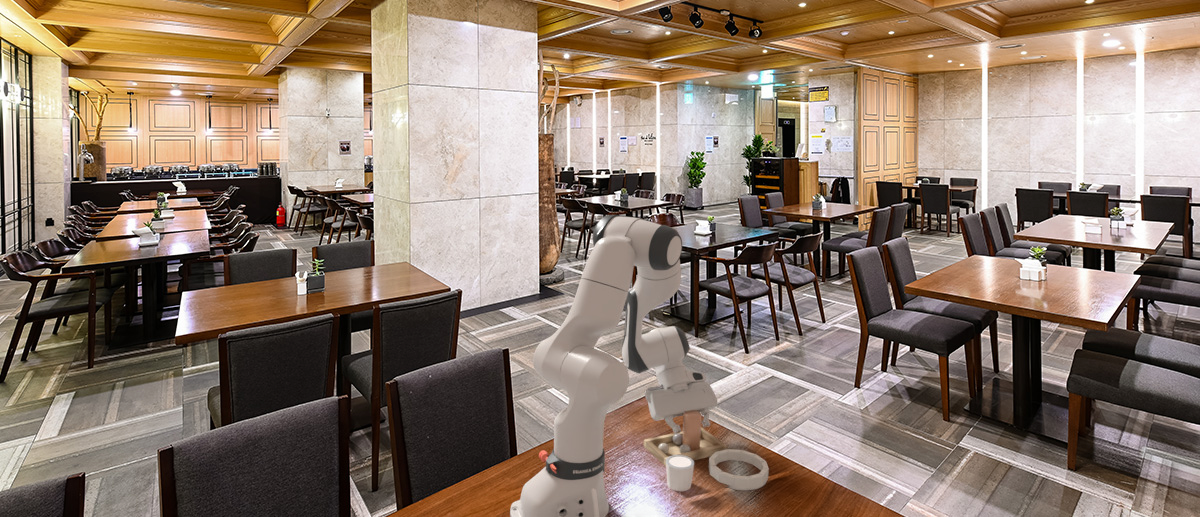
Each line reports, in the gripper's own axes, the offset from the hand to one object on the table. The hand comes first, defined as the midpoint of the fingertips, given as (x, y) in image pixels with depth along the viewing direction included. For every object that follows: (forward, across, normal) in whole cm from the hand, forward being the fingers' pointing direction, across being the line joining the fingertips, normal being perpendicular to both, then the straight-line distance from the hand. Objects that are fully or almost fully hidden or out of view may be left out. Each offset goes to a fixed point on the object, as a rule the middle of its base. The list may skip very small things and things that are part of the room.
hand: (692, 429), depth 167 cm
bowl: (+15, +4, -6) cm, 17 cm away
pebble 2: (0, -1, +5) cm, 5 cm away
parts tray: (+4, -2, +5) cm, 7 cm away
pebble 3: (+3, -3, +1) cm, 5 cm away
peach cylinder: (+4, 0, +4) cm, 6 cm away
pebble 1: (+4, -9, +4) cm, 10 cm away
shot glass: (+15, -13, -5) cm, 20 cm away
